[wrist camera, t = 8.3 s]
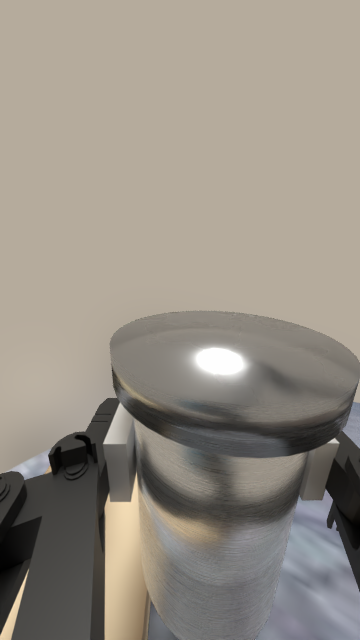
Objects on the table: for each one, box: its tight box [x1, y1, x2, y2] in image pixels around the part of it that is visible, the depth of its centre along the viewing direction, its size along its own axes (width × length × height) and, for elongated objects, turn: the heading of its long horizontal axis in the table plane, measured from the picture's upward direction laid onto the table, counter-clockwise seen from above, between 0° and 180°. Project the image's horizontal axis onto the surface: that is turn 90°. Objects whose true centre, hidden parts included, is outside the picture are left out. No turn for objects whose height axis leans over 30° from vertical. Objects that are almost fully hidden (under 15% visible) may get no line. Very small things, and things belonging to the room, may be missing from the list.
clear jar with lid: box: [110, 311, 360, 640], centre depth 8 cm, size 8×8×11 cm
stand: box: [0, 466, 151, 640], centre depth 17 cm, size 12×12×4 cm
